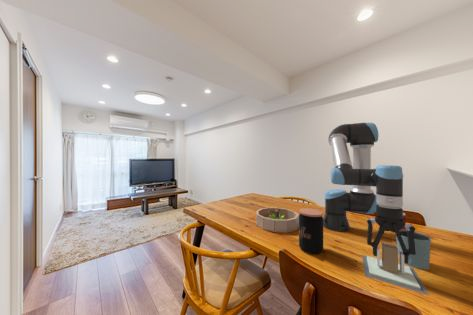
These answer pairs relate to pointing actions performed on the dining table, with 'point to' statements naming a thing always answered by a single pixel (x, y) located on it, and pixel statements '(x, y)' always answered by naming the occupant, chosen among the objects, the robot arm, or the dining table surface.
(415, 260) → the blue pot
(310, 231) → the coffee jar
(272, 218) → the plant
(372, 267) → the lid
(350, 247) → the dining table surface
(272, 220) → the cachepot ring
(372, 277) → the mat
